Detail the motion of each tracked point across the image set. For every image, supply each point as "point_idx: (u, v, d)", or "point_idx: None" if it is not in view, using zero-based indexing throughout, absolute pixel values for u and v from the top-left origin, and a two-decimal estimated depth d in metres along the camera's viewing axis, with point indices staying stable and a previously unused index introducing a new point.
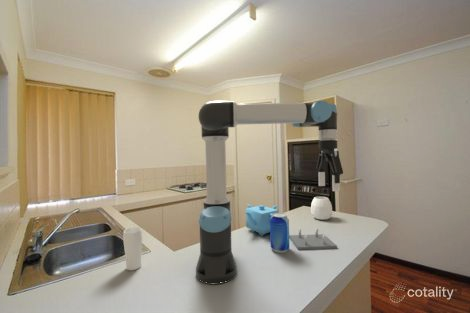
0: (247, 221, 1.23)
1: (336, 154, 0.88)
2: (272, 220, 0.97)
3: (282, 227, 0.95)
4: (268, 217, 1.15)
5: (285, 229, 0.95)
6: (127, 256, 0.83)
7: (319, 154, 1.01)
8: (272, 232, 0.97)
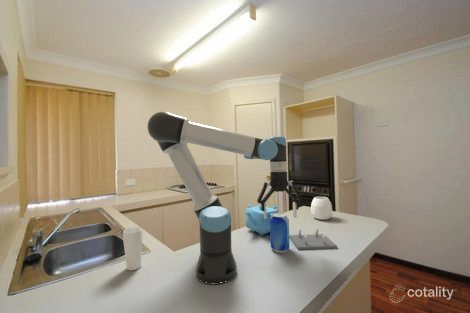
0: (247, 221, 1.23)
1: (264, 185, 0.98)
2: (272, 220, 0.97)
3: (282, 227, 0.95)
4: (268, 217, 1.15)
5: (285, 229, 0.95)
6: (127, 256, 0.83)
7: None
8: (272, 232, 0.97)
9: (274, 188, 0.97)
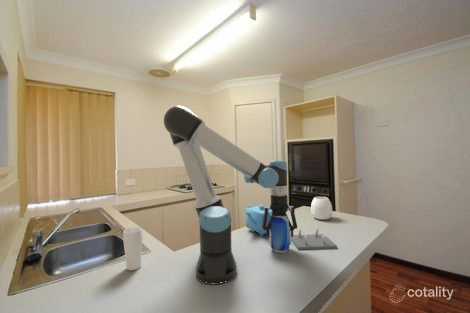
0: (247, 221, 1.23)
1: None
2: (272, 220, 0.97)
3: (282, 227, 0.95)
4: (268, 217, 1.15)
5: (285, 229, 0.95)
6: (127, 256, 0.83)
7: None
8: (272, 232, 0.97)
9: (275, 212, 0.97)
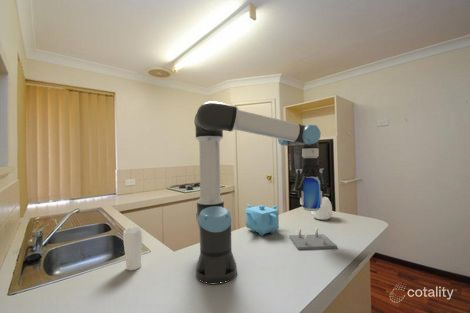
0: (247, 221, 1.23)
1: (297, 172, 1.05)
2: (304, 181, 1.03)
3: (314, 186, 1.01)
4: (268, 217, 1.15)
5: (317, 188, 1.01)
6: (127, 256, 0.83)
7: None
8: (304, 192, 1.03)
9: (307, 174, 1.03)
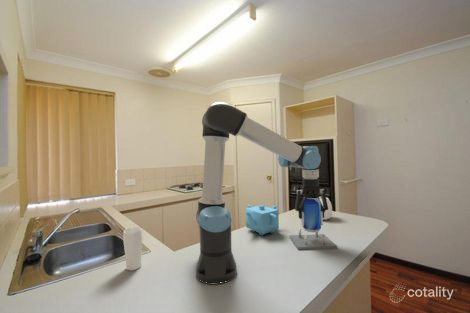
0: (247, 221, 1.23)
1: (297, 193, 1.05)
2: (305, 202, 1.03)
3: (315, 208, 1.01)
4: (268, 217, 1.15)
5: (317, 210, 1.02)
6: (127, 256, 0.83)
7: None
8: (305, 213, 1.03)
9: (307, 195, 1.03)
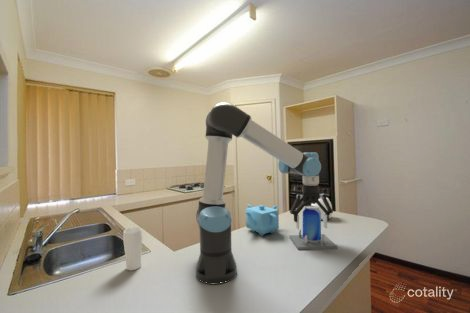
0: (247, 221, 1.23)
1: (297, 197, 1.05)
2: (305, 212, 1.03)
3: (315, 219, 1.01)
4: (268, 217, 1.15)
5: (318, 220, 1.02)
6: (127, 256, 0.83)
7: None
8: (305, 223, 1.03)
9: (307, 200, 1.03)
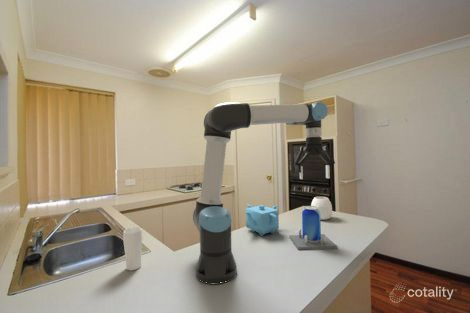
0: (247, 221, 1.23)
1: (300, 149, 1.10)
2: (305, 212, 1.03)
3: (315, 219, 1.01)
4: (268, 217, 1.15)
5: (317, 221, 1.02)
6: (127, 256, 0.83)
7: None
8: (305, 224, 1.03)
9: (310, 151, 1.09)
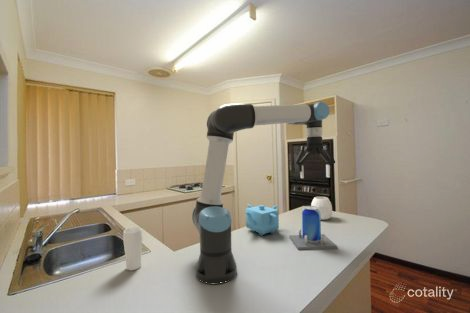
0: (247, 221, 1.23)
1: (301, 149, 1.11)
2: (305, 212, 1.03)
3: (315, 219, 1.01)
4: (268, 217, 1.15)
5: (318, 221, 1.02)
6: (127, 256, 0.83)
7: None
8: (305, 224, 1.03)
9: (311, 151, 1.10)
